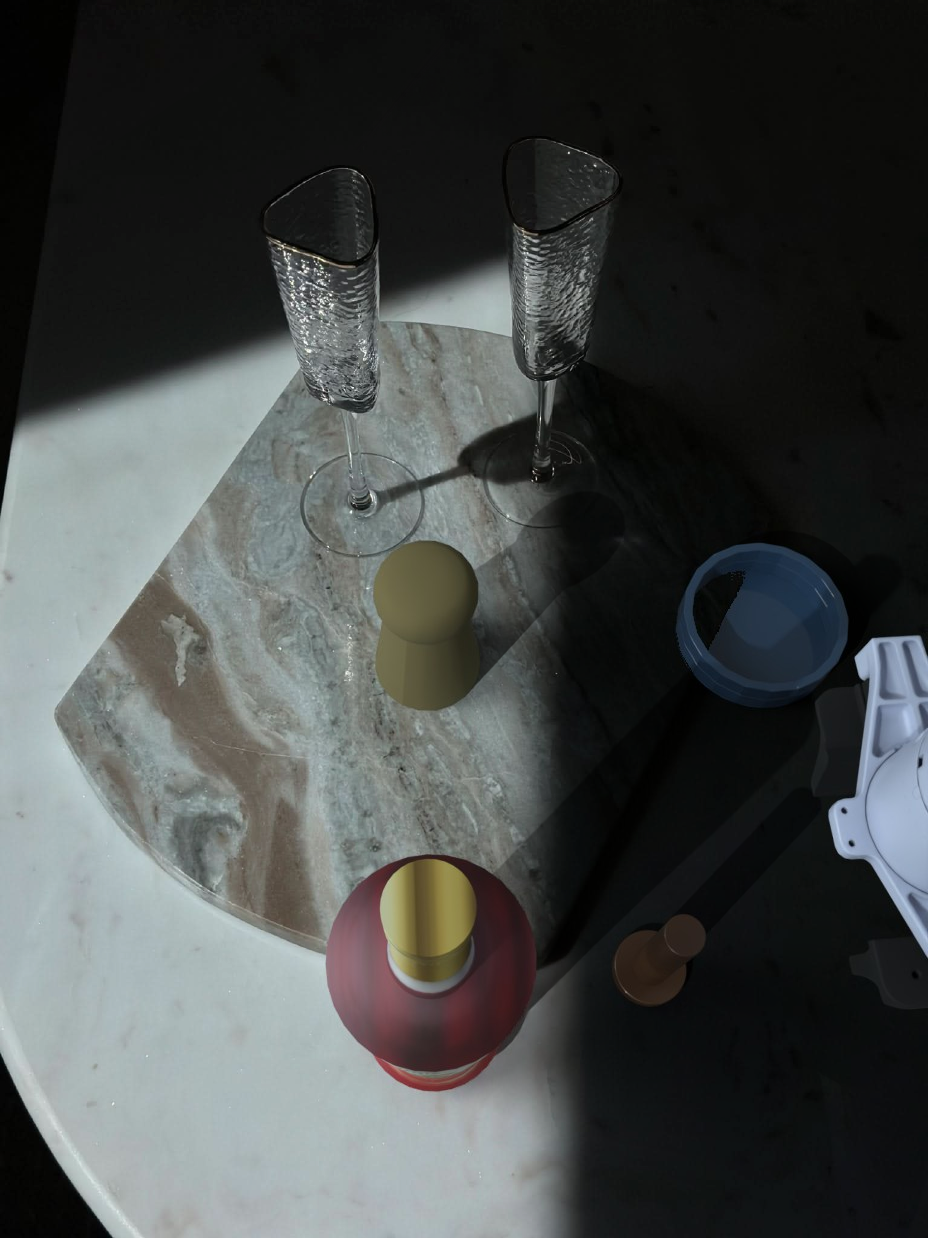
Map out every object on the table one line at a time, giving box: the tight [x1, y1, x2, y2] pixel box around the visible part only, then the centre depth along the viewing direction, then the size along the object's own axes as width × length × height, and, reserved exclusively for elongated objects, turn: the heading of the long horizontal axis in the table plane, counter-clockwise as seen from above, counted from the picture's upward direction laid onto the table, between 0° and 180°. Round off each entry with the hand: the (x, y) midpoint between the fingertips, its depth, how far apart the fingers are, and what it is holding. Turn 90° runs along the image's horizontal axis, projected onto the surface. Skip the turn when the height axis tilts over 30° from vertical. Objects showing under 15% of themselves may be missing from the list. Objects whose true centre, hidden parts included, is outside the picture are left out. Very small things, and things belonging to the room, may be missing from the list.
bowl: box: [675, 542, 849, 709], centre depth 65 cm, size 9×9×3 cm
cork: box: [372, 539, 481, 712], centre depth 60 cm, size 6×6×11 cm
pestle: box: [611, 913, 707, 1008], centre depth 54 cm, size 4×4×10 cm
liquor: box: [325, 853, 537, 1093], centre depth 44 cm, size 7×7×28 cm
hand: (852, 874), depth 50 cm, fingers open, 7 cm apart
